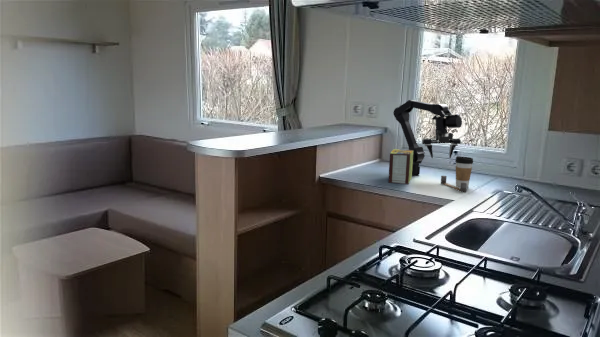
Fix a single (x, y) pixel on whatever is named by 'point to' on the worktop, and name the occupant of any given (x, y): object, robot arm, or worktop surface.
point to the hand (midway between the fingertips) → (441, 158)
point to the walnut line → (443, 181)
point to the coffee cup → (463, 170)
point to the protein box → (400, 166)
